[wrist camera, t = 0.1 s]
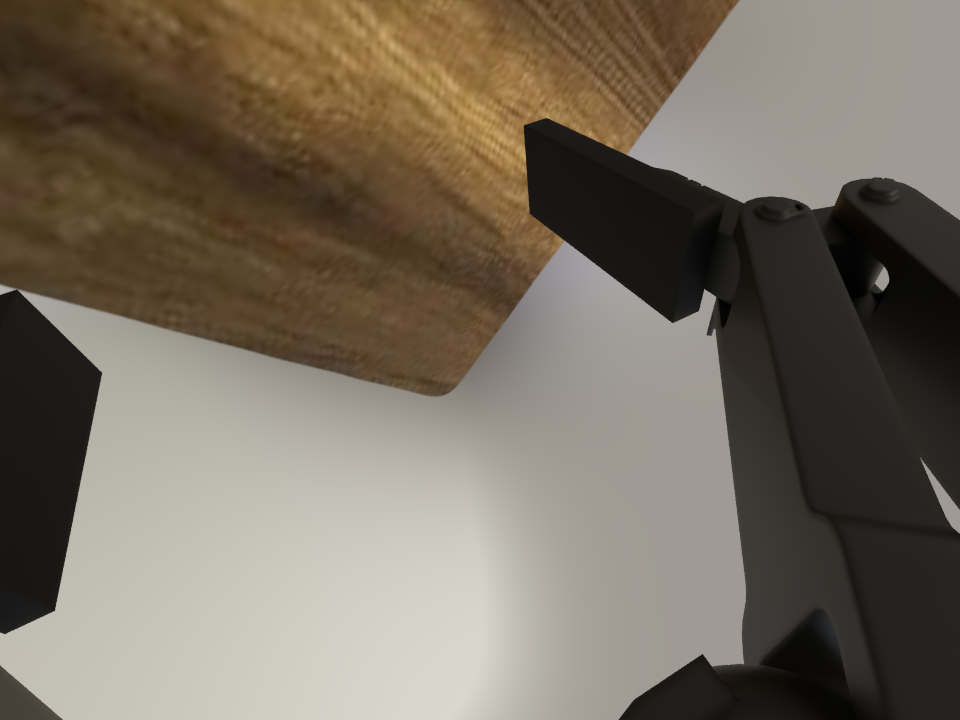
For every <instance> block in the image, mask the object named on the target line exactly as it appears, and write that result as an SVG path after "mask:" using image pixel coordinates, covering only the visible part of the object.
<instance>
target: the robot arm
mask: <svg viewBox="0 0 960 720" xmlns="http://www.w3.org/2000/svg"><path fill="white" fill-rule="evenodd" d="M524 136H525V151H526V165H527V180H528V194H529V209H530V214H531V215H532V216H533V217H535V218H536V219H537V220H539V221H540V222H541V223H543V224H544V225H545V226H546V227H548V228H549V229H550V230H552V231H553V232H554V233H556V234H557V235H558V236H560V237H561V238H562V239H563V240H565V241H566V242H567V243H569V244H570V245H571V246H573V247H574V248H575V249H577V250H578V251H579V252H580V253H582V254H583V255H584V256H586V257H587V258H588V259H590V260H591V261H592V262H594V263H595V264H596V265H598V266H599V267H600V268H601V269H603V270H604V271H605V272H607V273H608V274H609V275H611V276H612V277H613V278H614V279H616V280H617V281H618V282H620V283H621V284H622V285H624V286H625V287H626V288H627V289H629V290H630V291H631V292H633V293H634V294H635V295H637V296H638V297H639V298H641V299H642V300H644V301H645V302H646V303H647V304H648V305H650V306H651V307H652V308H654V309H655V310H656V311H658V312H659V313H660V314H662V315H663V316H664V317H665V318H667V319H668V320H669V321H671V322H672V323H674V322H676V321H678V320H680V319H683V318H685V317H687V316H689V315H691V314H693V313H695V312H698V311H699V308H700V304H701V300H702V296H703V292H704V289H705V290H707V291H708V292H710V293H712V294H713V295H714V296H716V301H715V305H714V309H713V312H712V316H711V320H710V323H709V327H708V332H707V335H710V336H711V335H712V333H713V329H716V338H717V347H718V355H719V363H720V372H721V380H722V388H723V396H724V405H725V414H726V422H727V430H728V439H729V447H730V455H731V464H732V472H733V481H734V489H735V497H736V505H737V514H738V522H739V531H740V539H741V546H742V547H741V548H742V556H743V564H744V572H745V581H746V603H745V609H744V616H743V623H742V625H743V626H742V644H743V657H744V664H735V665H721V666H714V667H712V666H711V665H710V664H709V662H708V661H707V660H706V658H705V657H704V655H703V654H702V655H701V656H699V657H697V658H696V659H695V660H693V661H692V662H690V663H689V664H687V665H686V666H684V667H683V668H681V669H679V670H678V671H677V672H675V673H674V674H672V675H671V676H669V677H668V678H666V679H665V680H663V681H662V682H660V683H659V684H657V685H656V686H654V687H653V688H651V689H650V690H648V691H647V692H645V693H644V694H642V695H641V696H639V697H638V698H636V699H635V700H633V702H632V703H631V704H630V706H629V707H628V708H627V710H626V711H625V712H624V713H623V715H622V716H621V717H620V719H619V720H960V533H958V532H957V531H956V530H955V529H953V528H952V527H951V525H950V523H949V522H948V520H947V518H946V517H945V514H944V512H943V510H942V508H941V505H940V503H939V501H938V498H937V496H936V494H935V492H934V489H933V487H932V485H931V482H930V480H929V478H928V475H927V473H926V471H925V468H924V466H923V464H922V462H921V459H922V460H923V462H924V463H925V464H926V466H927V467H928V468H929V470H930V471H931V472H932V474H933V475H934V476H935V478H936V479H937V480H938V482H939V483H940V484H941V486H942V487H943V488H944V490H945V491H946V492H947V494H948V495H949V496H950V497H951V499H952V500H953V501H954V503H955V504H956V505H957V507H958V508H959V509H960V220H959V219H957V218H956V217H954V216H953V215H951V214H950V213H949V212H947V211H946V210H944V209H943V208H942V207H940V206H938V205H937V204H936V203H934V202H933V201H932V200H930V199H929V198H927V197H926V196H925V195H923V194H922V193H920V192H919V191H917V190H916V189H914V188H912V187H910V186H908V185H906V184H903V183H900V182H896V181H894V180H893V179H888V178H884V179H882V178H872V179H860V180H855V181H851V182H849V183H847V184H845V185H843V187H842V189H841V191H840V194H839V196H838V199H837V201H836V204H835V206H832V207H826V208H820V209H814V210H811V209H810V208H809V207H808V206H807V205H805V204H803V203H801V202H799V201H796V200H792V199H788V198H783V197H761V198H755V199H753V200H749V201H747V202H746V203H742V202H740V201H737V200H735V199H733V198H731V197H729V196H726V195H724V194H722V193H720V192H718V191H715V190H713V189H711V188H709V187H706V186H701V184H700V183H698V182H696V181H693V180H688V178H687V177H684V176H682V175H680V174H678V173H676V172H673V171H669V170H664V169H659V168H654V167H651V166H649V165H647V164H645V163H642V162H640V161H638V160H636V159H634V158H632V157H630V156H628V155H625V154H623V153H621V152H619V151H617V150H615V149H612V148H610V147H608V146H606V145H604V144H602V143H600V142H597V141H595V140H593V139H591V138H589V137H587V136H584V135H582V134H580V133H578V132H576V131H574V130H571V129H569V128H567V127H565V126H563V125H561V124H559V123H556V122H554V121H552V120H550V119H548V118H545V119H542V120H539V121H536V122H533V123H530V124H527V125H524ZM883 267H885V268H886V270H887V271H888V275H889V284H888V285H887V287H886V288H885V289H884V291H882V290H880V289H879V288H878V287H877V286H876V284H875V282H876V280H877V278H878V276H879V274H880V272H881V270H882V269H883ZM101 376H102V372H101V371H99V369H98V368H97V367H95V365H94V364H92V363H91V362H90V361H89V360H88V359H87V358H86V357H85V356H84V355H83V354H82V353H81V352H80V351H79V350H78V349H77V348H76V347H75V346H74V345H73V344H72V343H71V342H70V341H69V340H68V339H67V338H66V337H65V336H64V335H63V334H62V333H61V332H60V331H59V330H58V329H57V328H56V327H55V326H54V325H53V324H52V323H51V322H50V321H49V320H48V319H47V318H45V316H43V315H42V314H41V313H40V312H39V311H38V310H37V309H36V308H35V307H34V306H33V305H32V304H31V303H30V302H29V301H28V300H27V299H26V298H25V297H24V296H23V295H22V294H21V293H20V292H19V291H18V290H14V291H11V292H8V293H5V294H2V295H0V633H4V634H6V633H8V632H10V631H12V630H15V629H17V628H19V627H21V626H23V625H25V624H28V623H30V622H32V621H34V620H36V619H38V618H40V617H43V616H45V615H47V614H49V613H51V612H53V611H55V607H56V602H57V597H58V592H59V587H60V582H61V577H62V572H63V567H64V562H65V557H66V552H67V547H68V542H69V536H70V532H71V527H72V522H73V517H74V512H75V507H76V502H77V497H78V491H79V486H80V482H81V477H82V471H83V466H84V461H85V456H86V451H87V446H88V441H89V436H90V431H91V426H92V421H93V416H94V410H95V406H96V401H97V396H98V391H99V386H100V381H101ZM920 458H921V459H920ZM0 720H62V719H61V718H60V717H59V716H58V715H57V714H55V713H54V712H53V711H52V710H51V709H50V708H49V707H47V706H46V705H45V704H44V703H43V702H41V700H39V699H38V698H37V697H36V696H35V695H33V694H32V693H31V692H30V691H29V690H28V689H27V688H25V687H24V686H23V685H22V684H21V683H20V682H19V681H17V680H16V679H15V678H14V677H13V676H11V675H10V674H9V673H8V672H7V671H6V670H5V669H4V668H2V667H1V666H0Z"/></svg>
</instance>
